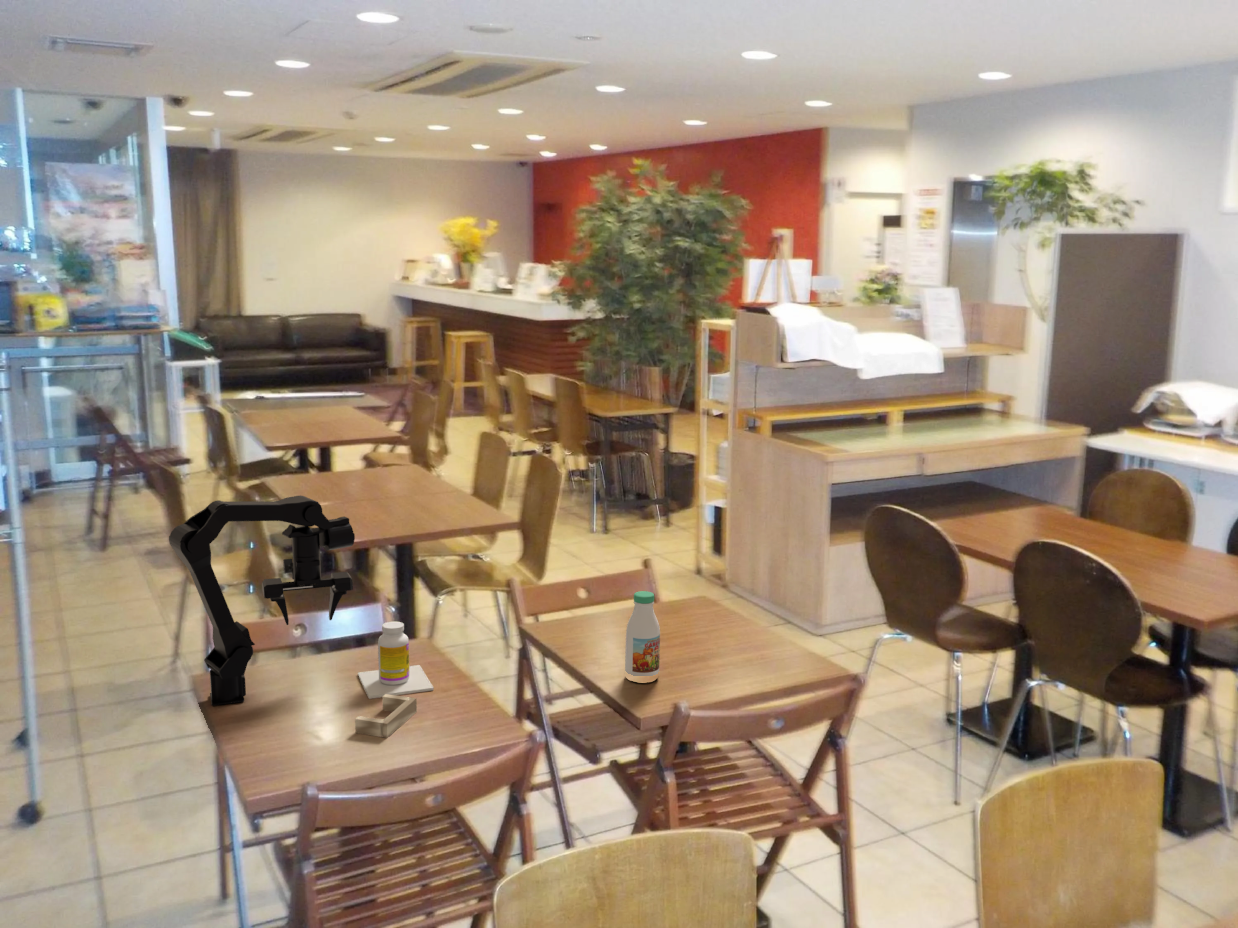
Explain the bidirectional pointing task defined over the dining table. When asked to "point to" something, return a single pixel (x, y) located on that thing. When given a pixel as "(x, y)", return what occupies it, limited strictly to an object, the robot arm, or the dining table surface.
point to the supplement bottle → (393, 654)
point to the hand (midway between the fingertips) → (308, 622)
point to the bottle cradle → (400, 714)
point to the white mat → (412, 685)
